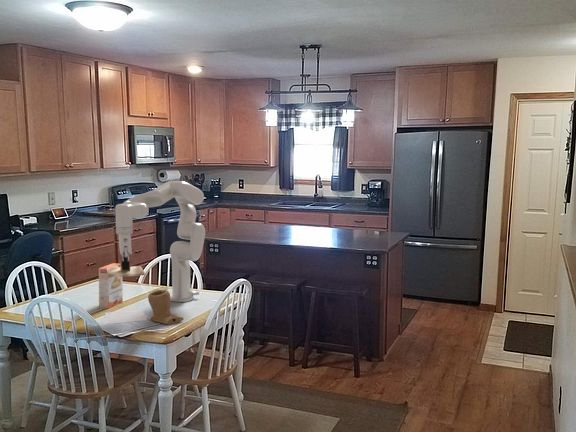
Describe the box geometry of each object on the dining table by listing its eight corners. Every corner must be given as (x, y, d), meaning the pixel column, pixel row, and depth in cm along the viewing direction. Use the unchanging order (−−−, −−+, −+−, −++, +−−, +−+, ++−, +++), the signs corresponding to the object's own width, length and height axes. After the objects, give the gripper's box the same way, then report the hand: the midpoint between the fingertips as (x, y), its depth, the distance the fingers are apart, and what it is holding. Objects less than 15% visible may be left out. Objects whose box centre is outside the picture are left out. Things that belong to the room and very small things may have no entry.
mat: (142, 310, 263) (142, 309, 263) (147, 321, 247) (147, 319, 247) (104, 314, 257) (104, 312, 256) (106, 325, 240) (106, 324, 240)
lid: (140, 267, 259) (140, 254, 258) (144, 275, 245) (144, 260, 244) (106, 270, 253) (106, 255, 253) (108, 277, 239) (108, 262, 238)
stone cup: (143, 321, 246) (142, 290, 244) (163, 316, 255) (163, 285, 253) (163, 329, 236) (163, 296, 235) (184, 322, 246) (184, 291, 244)
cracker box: (109, 309, 264) (108, 268, 261) (98, 308, 265) (97, 268, 262) (123, 302, 277) (122, 263, 275) (113, 301, 278) (112, 262, 276)
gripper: (134, 232, 240) (135, 271, 242) (131, 227, 256) (131, 264, 258) (117, 233, 237) (118, 272, 240) (114, 228, 253) (115, 265, 255)
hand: (125, 268), depth 249 cm, fingers closed on lid, 4 cm apart
